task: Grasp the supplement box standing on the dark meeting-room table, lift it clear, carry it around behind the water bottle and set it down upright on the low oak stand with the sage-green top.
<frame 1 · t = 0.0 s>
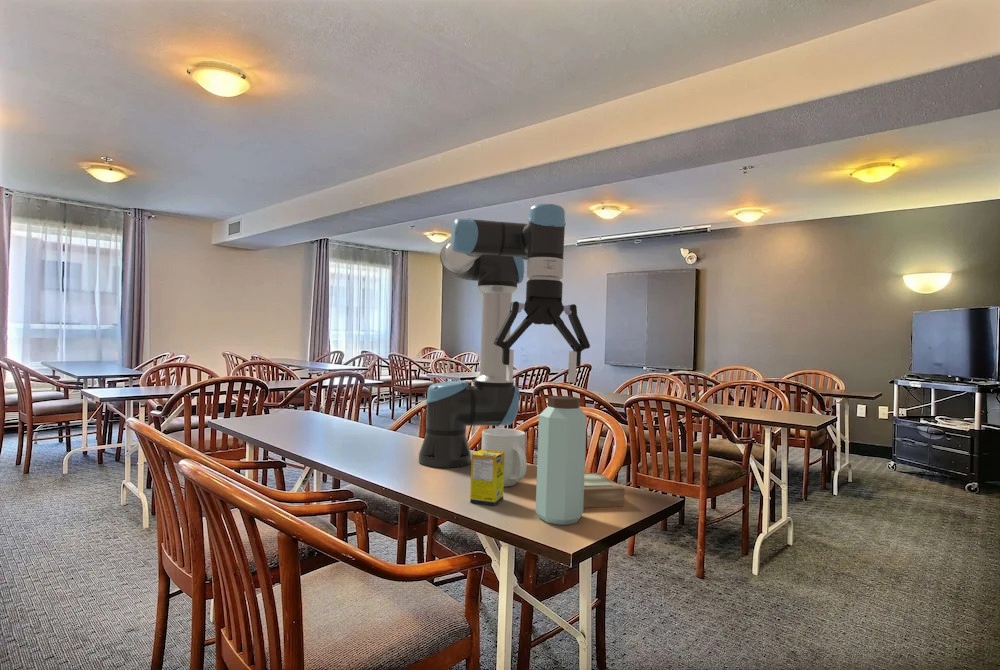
hand: (540, 381, 116), 28 cm above the table, fingers open, 13 cm apart
supplement box: (486, 501, 125), on the table
water bottle: (559, 519, 115), on the table
mug: (504, 485, 139), on the table
oak stand: (583, 497, 130), on the table
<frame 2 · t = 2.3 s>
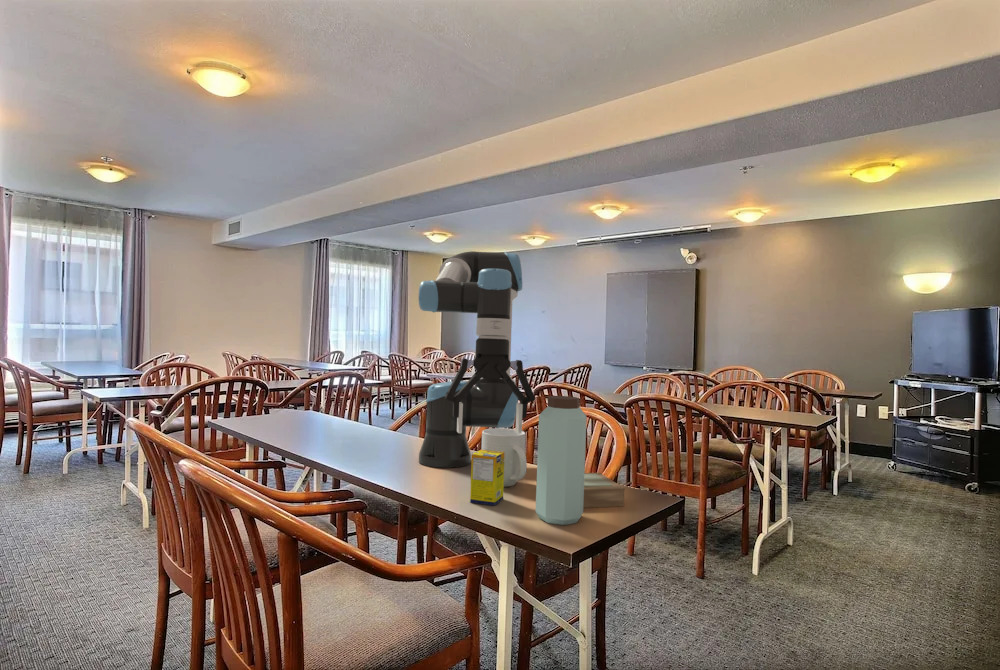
hand: (489, 432, 124), 15 cm above the table, fingers open, 13 cm apart
nothing on the table moved.
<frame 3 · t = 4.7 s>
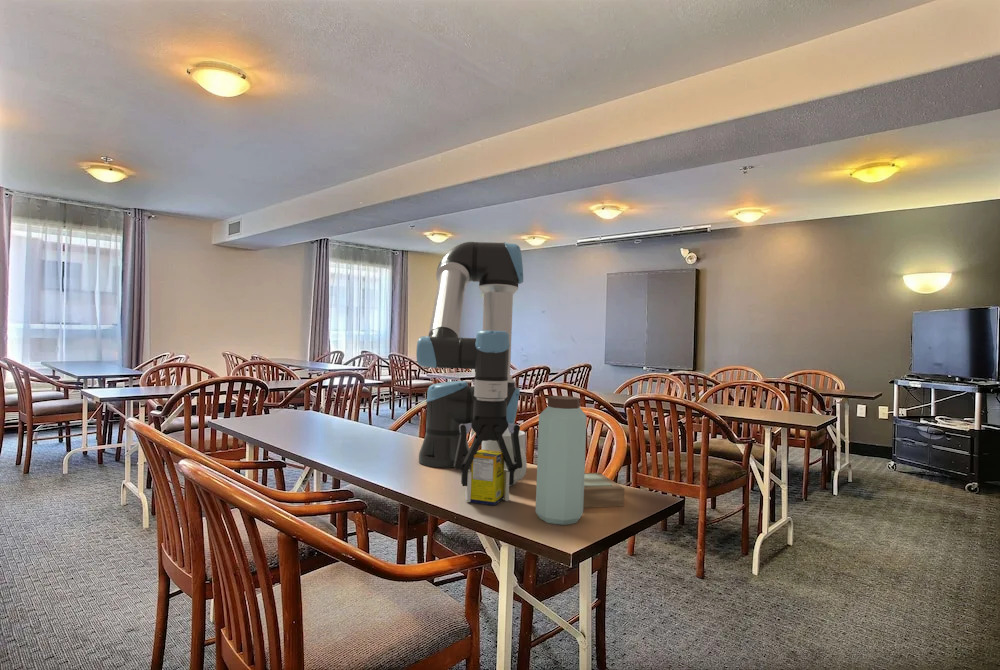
hand: (486, 499, 125), 0 cm above the table, fingers closed on supplement box, 8 cm apart
supplement box: (486, 501, 125), on the table, touching gripper
everything else where it was.
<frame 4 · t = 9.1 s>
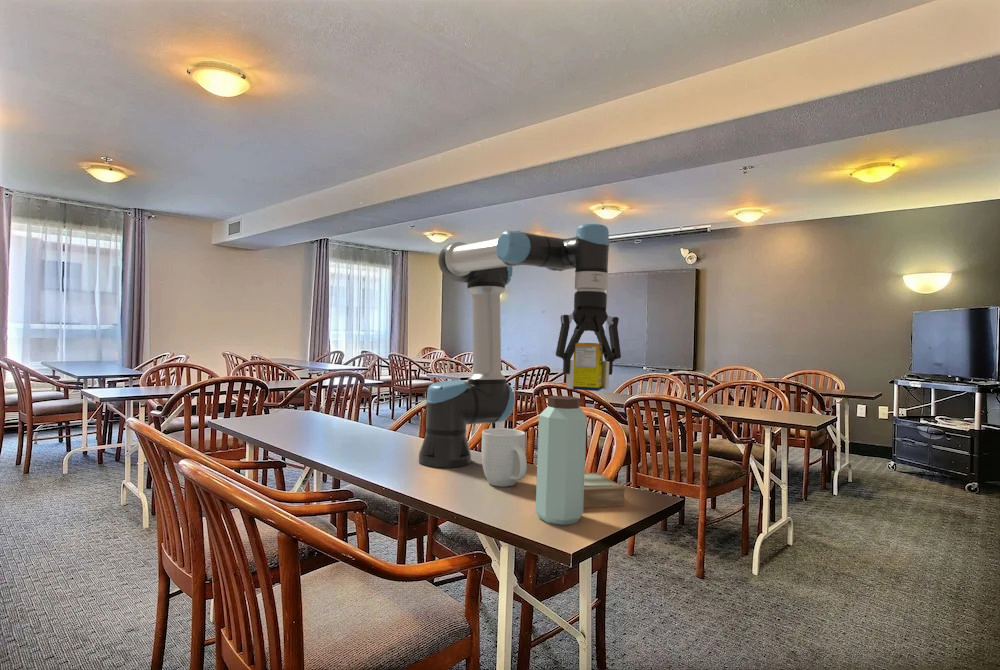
hand: (587, 388, 130), 26 cm above the table, fingers closed on supplement box, 8 cm apart
supplement box: (587, 390, 129), point 25 cm above the table, touching gripper
everything else where it was.
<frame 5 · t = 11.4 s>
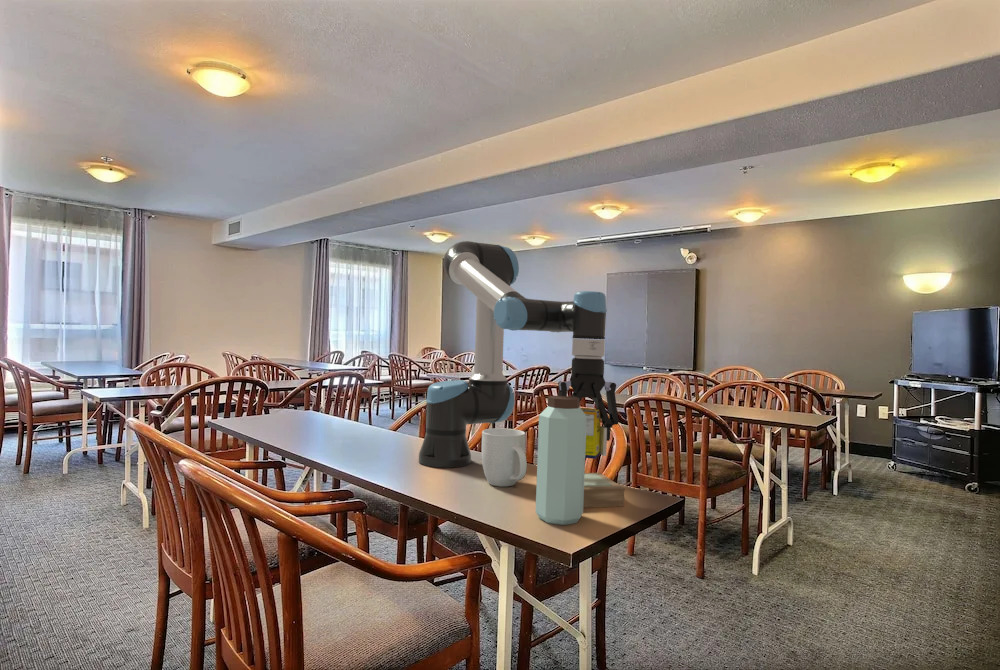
hand: (584, 454, 130), 10 cm above the table, fingers closed on supplement box, 8 cm apart
supplement box: (585, 456, 129), point 10 cm above the table, touching gripper
everything else where it was.
when the fingers open (6 cm above the table, at t = 13.4 s): supplement box drops 1 cm, resting on oak stand.
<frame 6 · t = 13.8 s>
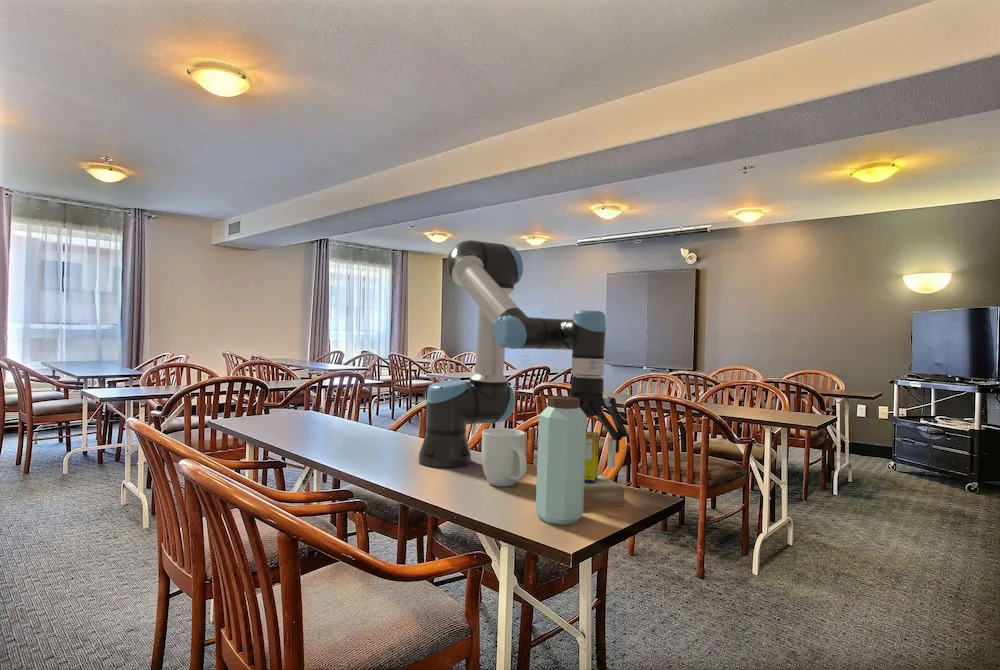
hand: (584, 467, 130), 7 cm above the table, fingers open, 13 cm apart
supplement box: (583, 480, 130), point 4 cm above the table, touching oak stand
everything else where it was.
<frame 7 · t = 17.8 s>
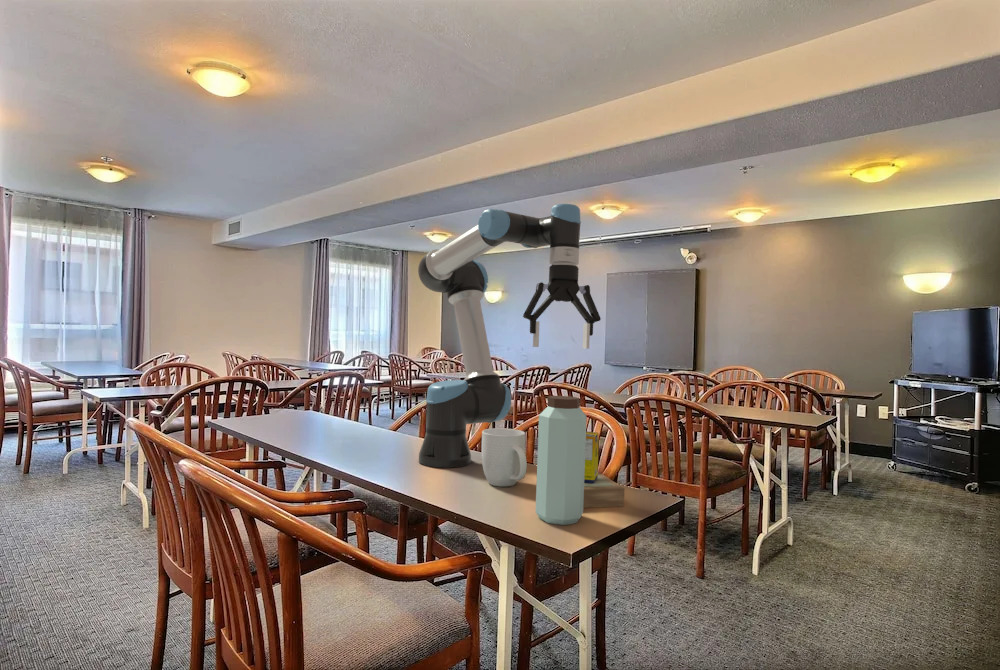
hand: (561, 347, 143), 35 cm above the table, fingers open, 13 cm apart
nothing on the table moved.
at the end: supplement box inside the target area on the oak stand (0.2 cm from its centre), point 4.1 cm above the oak stand's base; supplement box tilted 0°; the gripper is holding nothing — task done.
